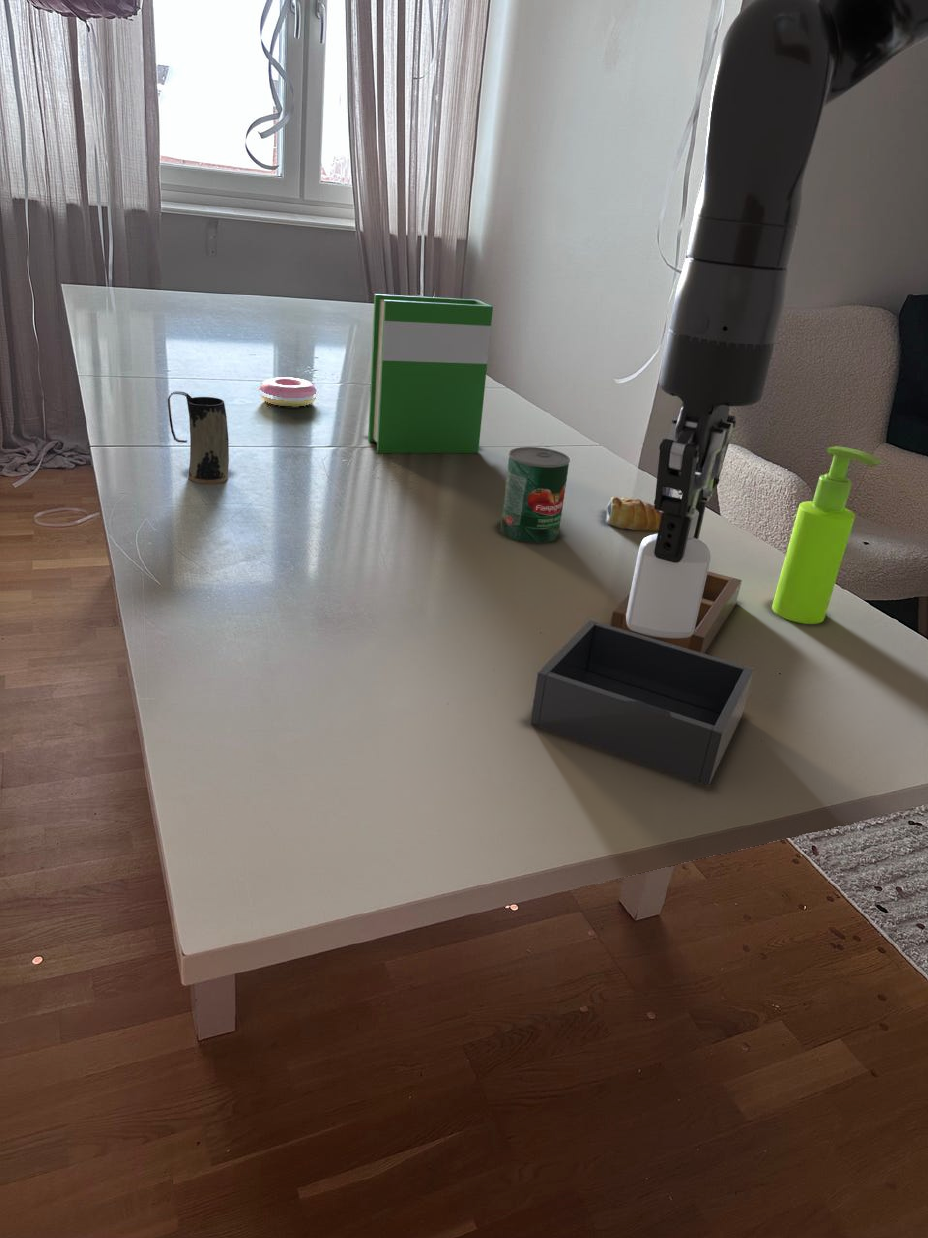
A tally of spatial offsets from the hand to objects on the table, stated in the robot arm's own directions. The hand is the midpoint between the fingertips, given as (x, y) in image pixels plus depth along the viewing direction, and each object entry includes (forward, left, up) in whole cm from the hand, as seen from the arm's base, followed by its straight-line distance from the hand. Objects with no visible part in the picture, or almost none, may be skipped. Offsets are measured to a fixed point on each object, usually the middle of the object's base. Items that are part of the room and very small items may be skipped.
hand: (675, 549), depth 72 cm
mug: (+74, -26, -17) cm, 80 cm away
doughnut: (+94, -71, -17) cm, 119 cm away
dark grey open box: (0, 0, -17) cm, 17 cm away
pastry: (+17, -51, -17) cm, 56 cm away
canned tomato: (+27, -37, -17) cm, 49 cm away
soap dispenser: (-9, -34, -17) cm, 39 cm away
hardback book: (+59, -64, -17) cm, 89 cm away
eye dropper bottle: (0, 0, -7) cm, 7 cm away
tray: (+3, -23, -17) cm, 29 cm away
